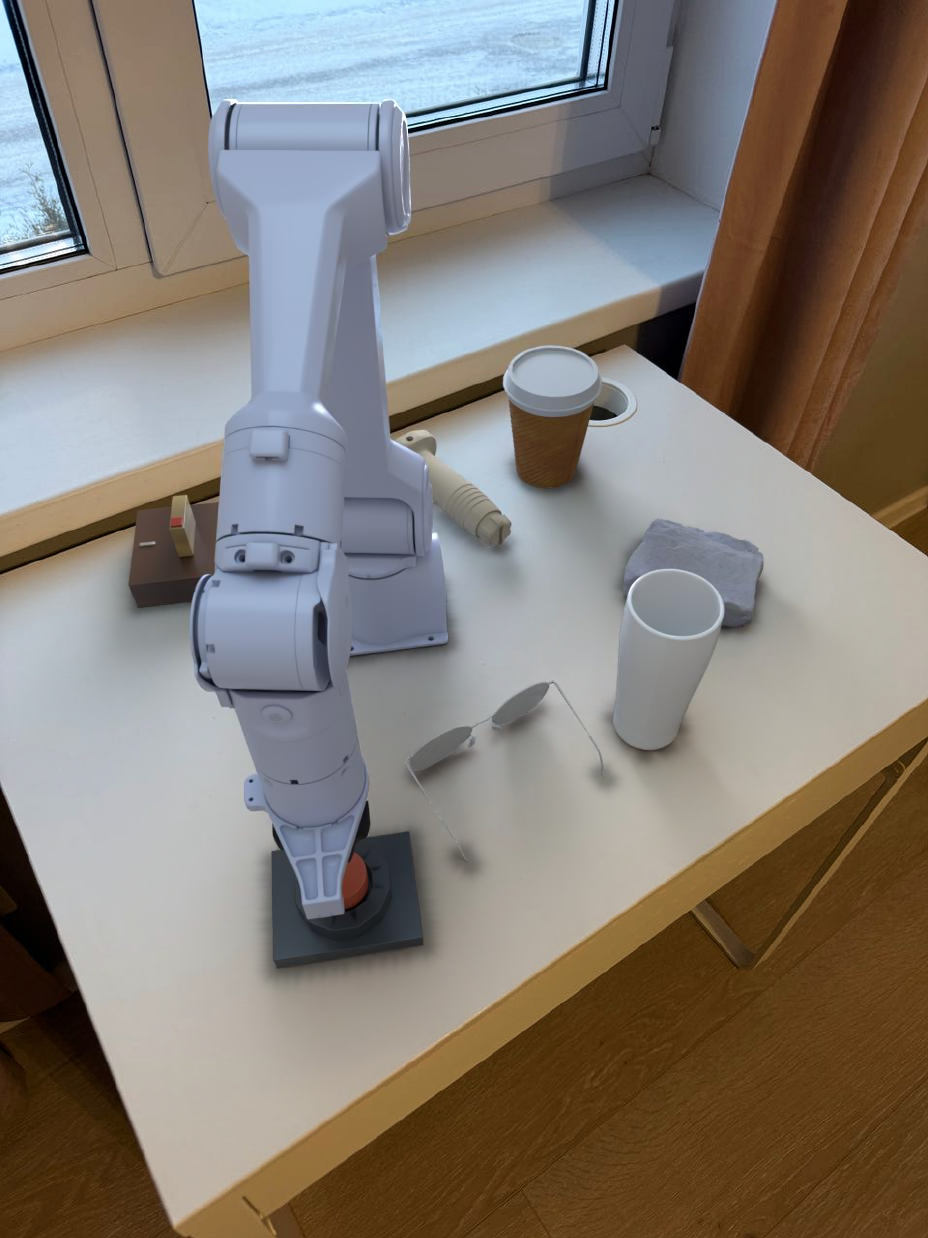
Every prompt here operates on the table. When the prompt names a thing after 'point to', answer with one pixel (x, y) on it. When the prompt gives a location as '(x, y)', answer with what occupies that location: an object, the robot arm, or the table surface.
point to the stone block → (702, 564)
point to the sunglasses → (458, 735)
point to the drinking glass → (663, 653)
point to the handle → (459, 494)
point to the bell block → (362, 928)
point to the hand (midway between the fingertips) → (334, 855)
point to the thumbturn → (182, 526)
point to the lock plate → (170, 556)
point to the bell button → (354, 882)
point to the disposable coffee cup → (550, 411)
